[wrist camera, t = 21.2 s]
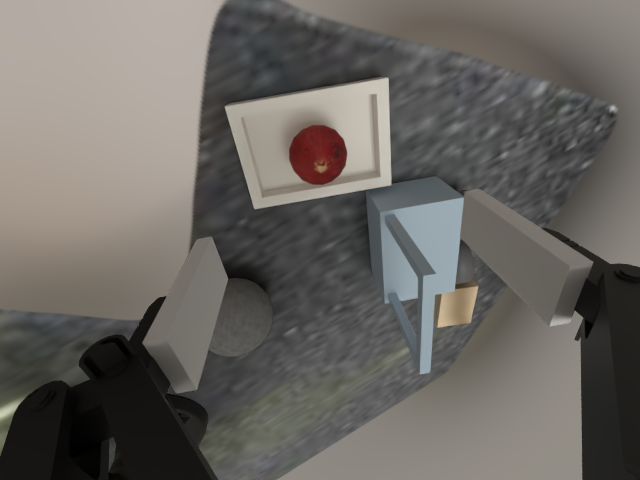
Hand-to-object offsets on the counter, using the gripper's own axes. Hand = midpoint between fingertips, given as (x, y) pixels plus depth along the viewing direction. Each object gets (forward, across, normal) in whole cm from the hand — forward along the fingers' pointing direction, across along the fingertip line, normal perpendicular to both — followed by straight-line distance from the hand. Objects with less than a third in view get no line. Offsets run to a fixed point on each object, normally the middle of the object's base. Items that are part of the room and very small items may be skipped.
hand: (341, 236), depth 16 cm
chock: (+22, +16, -25) cm, 37 cm away
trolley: (+21, +12, -14) cm, 28 cm away
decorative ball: (+22, -14, -19) cm, 32 cm away
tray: (+21, 0, 0) cm, 21 cm away
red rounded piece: (+21, 0, 0) cm, 21 cm away
